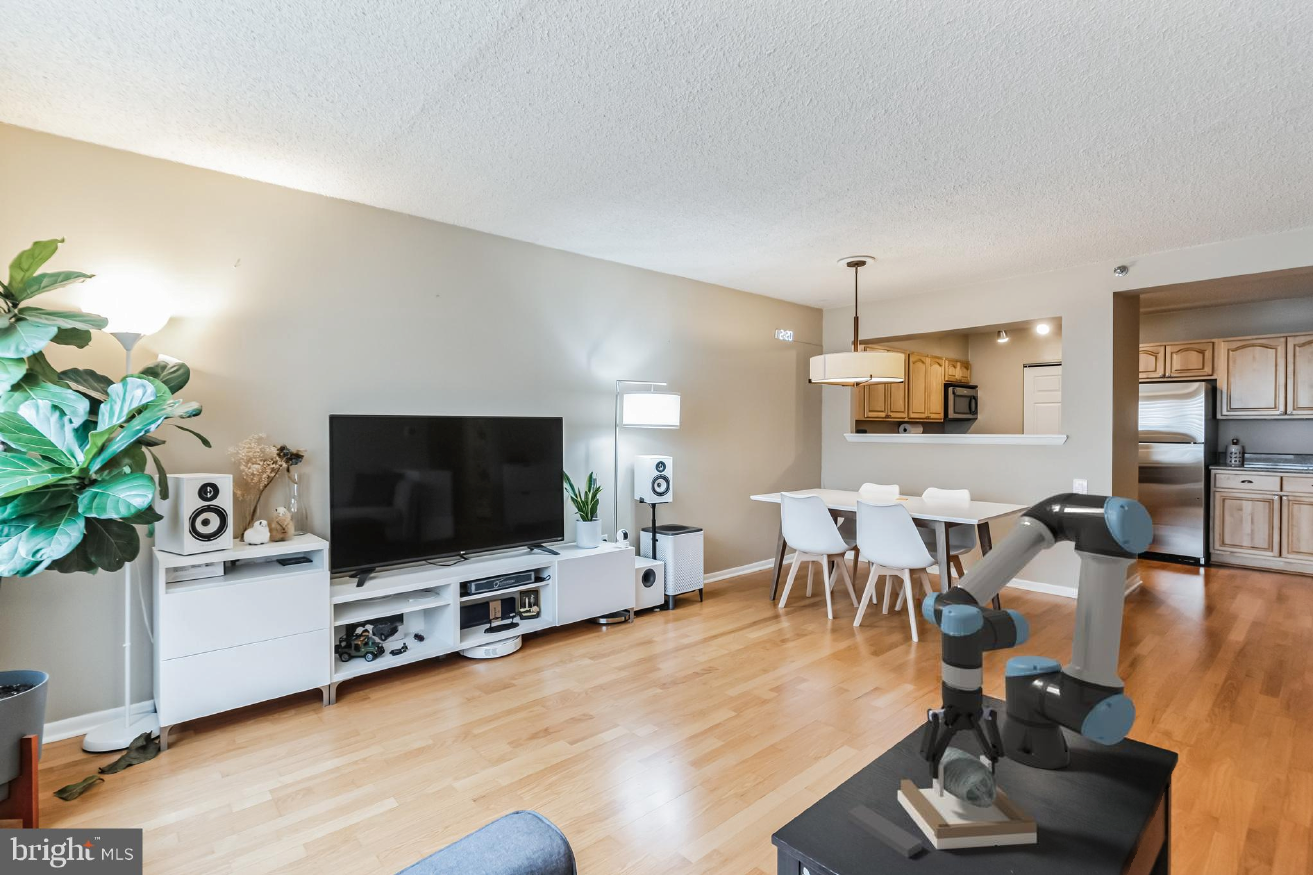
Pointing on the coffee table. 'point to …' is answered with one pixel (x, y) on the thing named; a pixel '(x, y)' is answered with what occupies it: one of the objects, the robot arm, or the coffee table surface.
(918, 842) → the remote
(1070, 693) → the robot arm
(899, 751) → the coffee table surface
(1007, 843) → the shelf bay
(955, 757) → the grey streaked oval piece
